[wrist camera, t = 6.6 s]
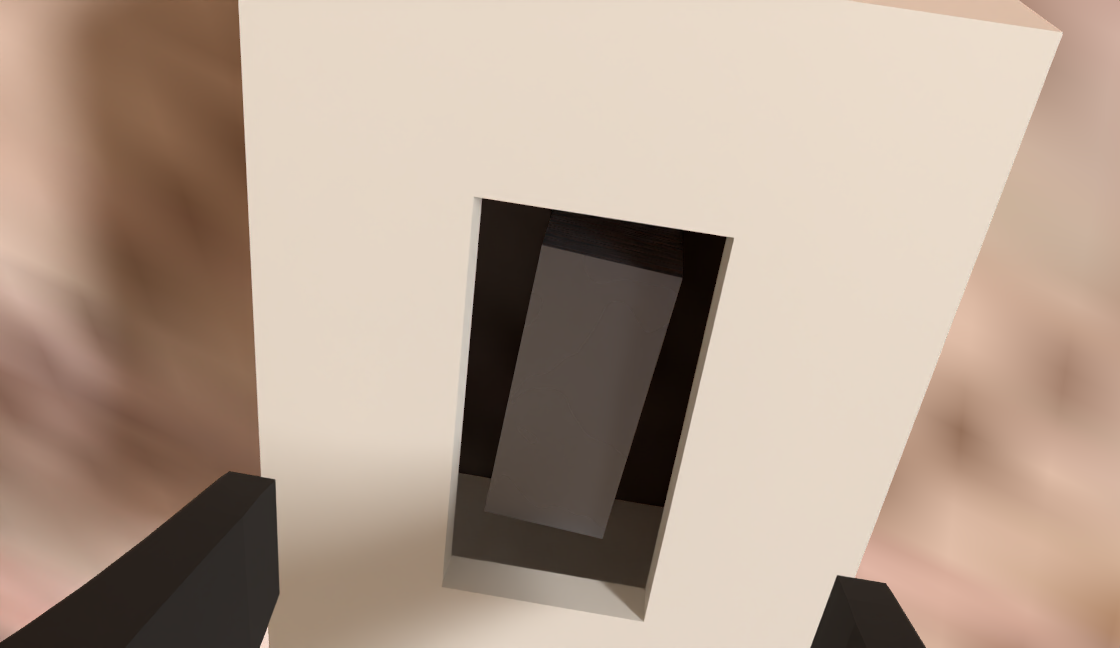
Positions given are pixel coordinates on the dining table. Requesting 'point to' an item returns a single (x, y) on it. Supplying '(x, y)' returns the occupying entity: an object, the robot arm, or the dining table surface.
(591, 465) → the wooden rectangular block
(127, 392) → the dining table surface
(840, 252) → the box
